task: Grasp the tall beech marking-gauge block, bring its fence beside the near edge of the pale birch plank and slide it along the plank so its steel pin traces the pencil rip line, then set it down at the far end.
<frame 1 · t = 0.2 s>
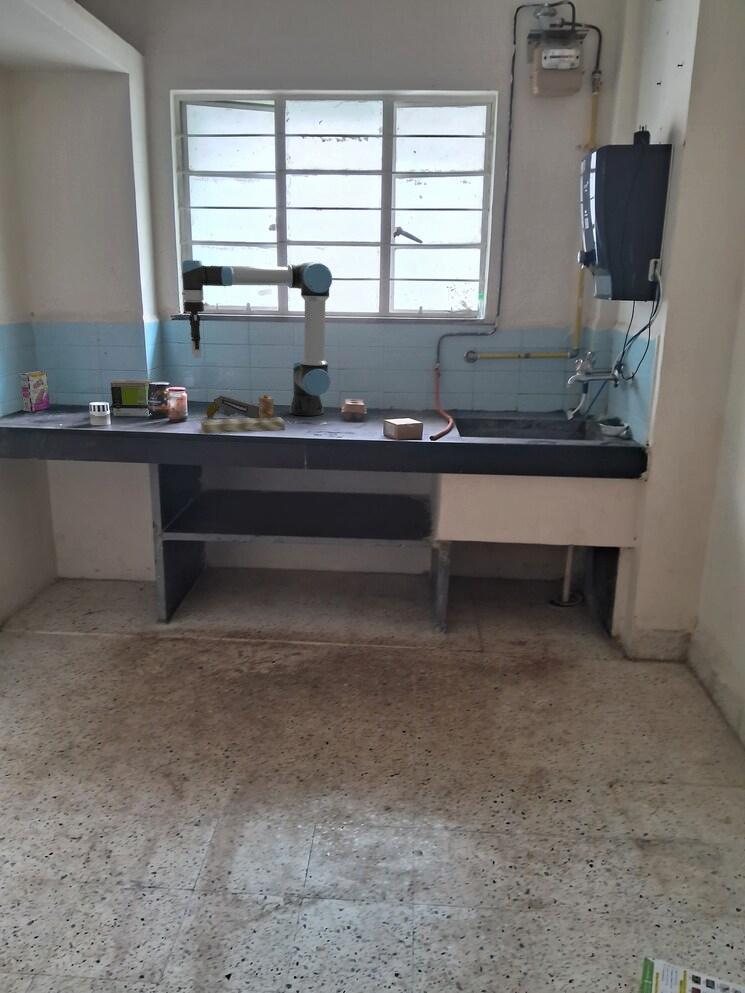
hand: (196, 355, 294), 28 cm above the worktop, fingers open, 13 cm apart
tea box: (134, 415, 316), on the worktop
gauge: (266, 424, 304), on the worktop
candy bar box: (37, 410, 321), on the worktop
gun: (237, 419, 313), on the worktop
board: (243, 429, 293), on the worktop
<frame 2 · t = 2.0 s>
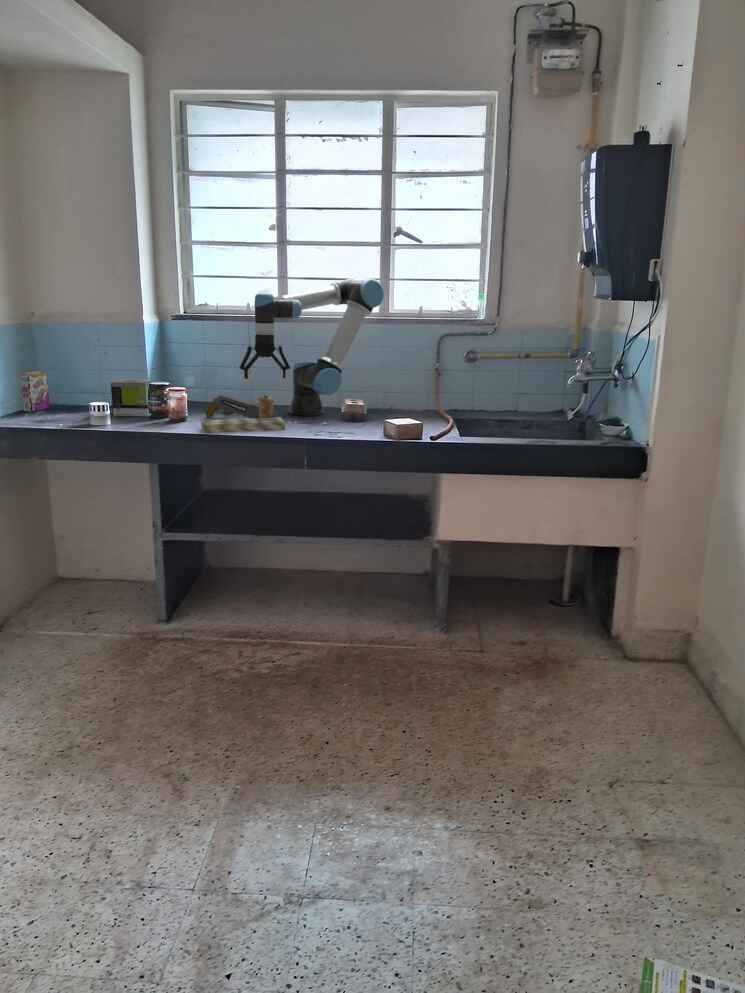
hand: (265, 386, 299), 16 cm above the worktop, fingers open, 13 cm apart
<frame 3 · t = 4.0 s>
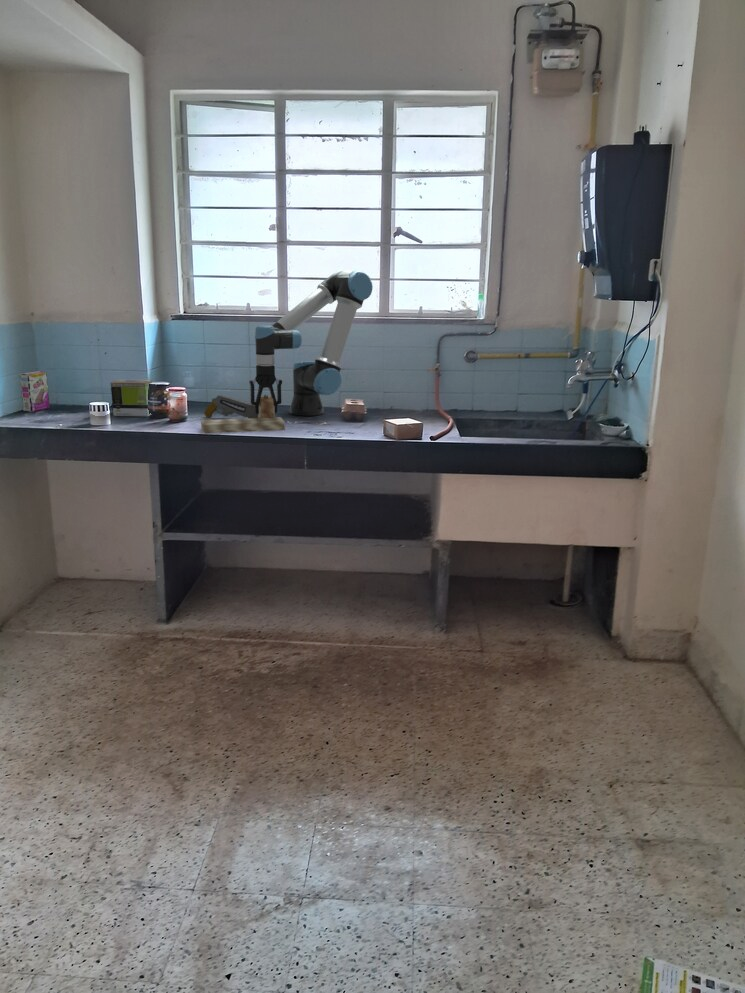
hand: (266, 421, 303), 1 cm above the worktop, fingers closed on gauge, 5 cm apart
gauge: (266, 424, 304), on the worktop, touching gripper
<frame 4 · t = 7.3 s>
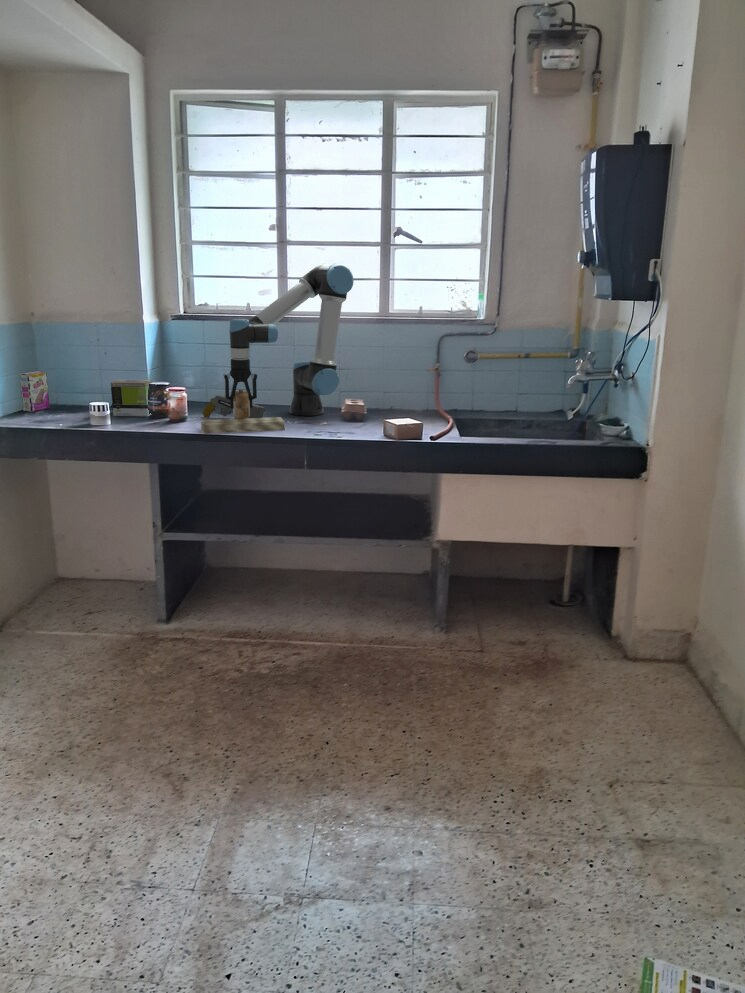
hand: (241, 415, 299), 4 cm above the worktop, fingers closed on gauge, 5 cm apart
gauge: (241, 419, 299), point 3 cm above the worktop, touching gripper
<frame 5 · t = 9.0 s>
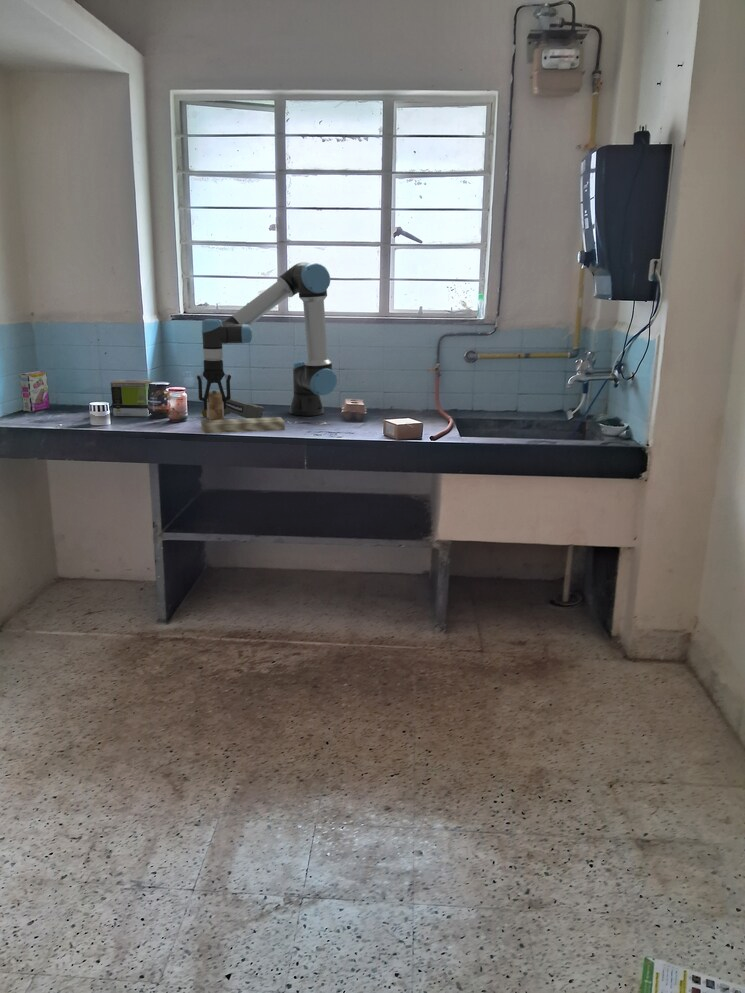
hand: (215, 417, 295), 4 cm above the worktop, fingers closed on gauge, 5 cm apart
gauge: (215, 420, 296), point 3 cm above the worktop, touching gripper
when the fingers open (1 cm above the worktop, at t = 10.6 s): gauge stays where it is, on the worktop.
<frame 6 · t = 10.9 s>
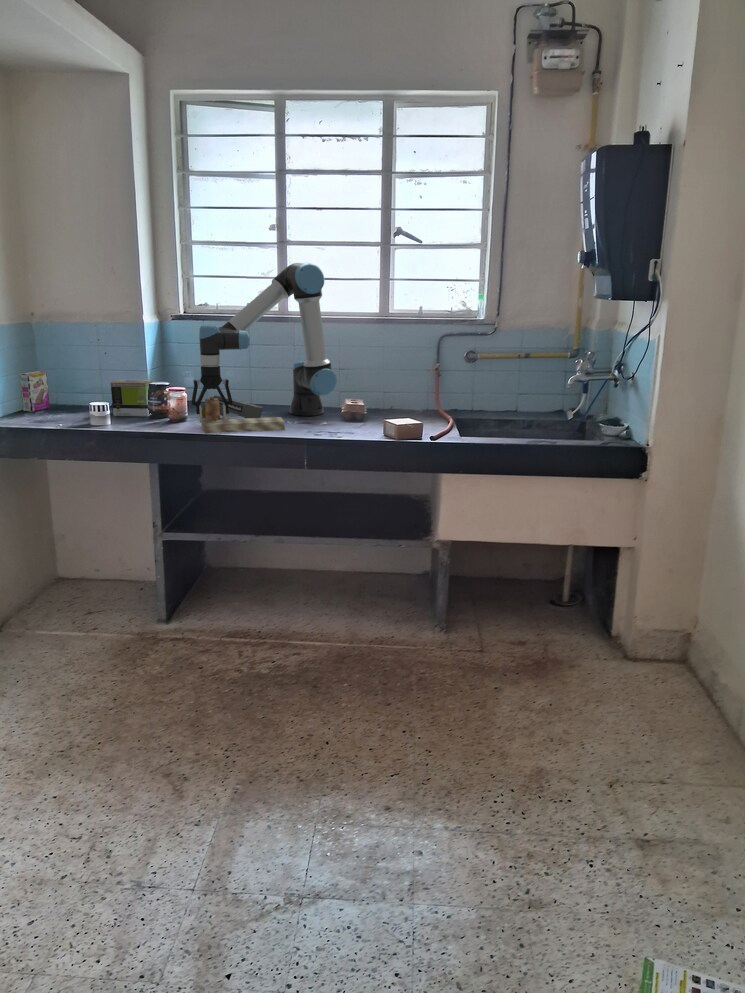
hand: (212, 421, 296), 2 cm above the worktop, fingers open, 9 cm apart
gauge: (213, 426, 296), on the worktop
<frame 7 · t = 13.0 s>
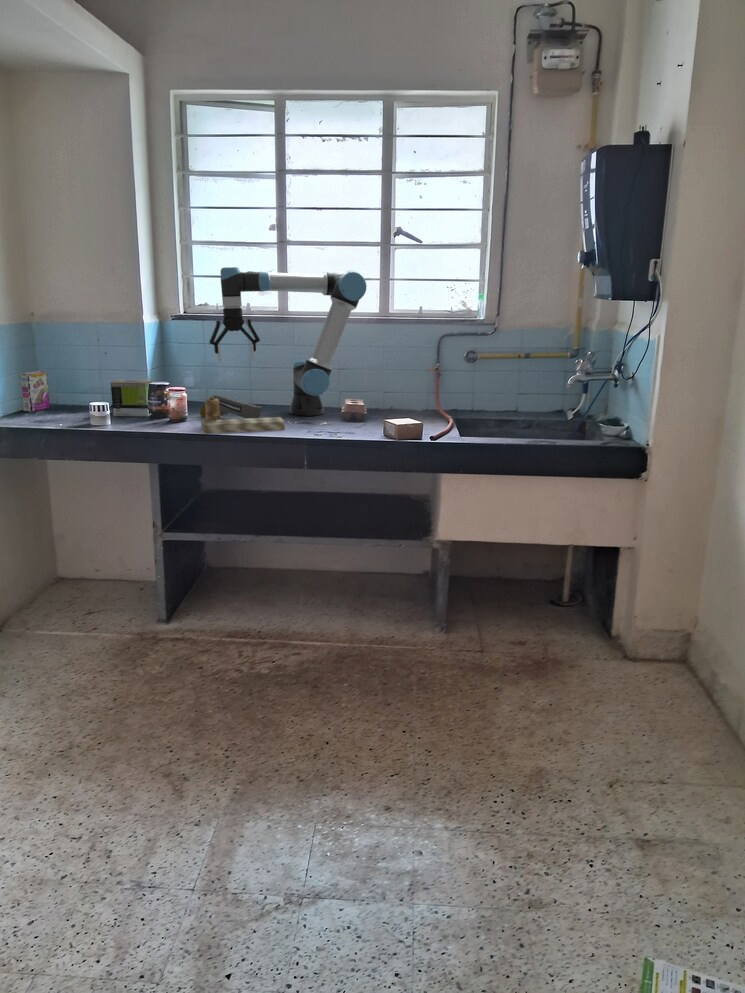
hand: (236, 360, 300), 25 cm above the worktop, fingers open, 13 cm apart
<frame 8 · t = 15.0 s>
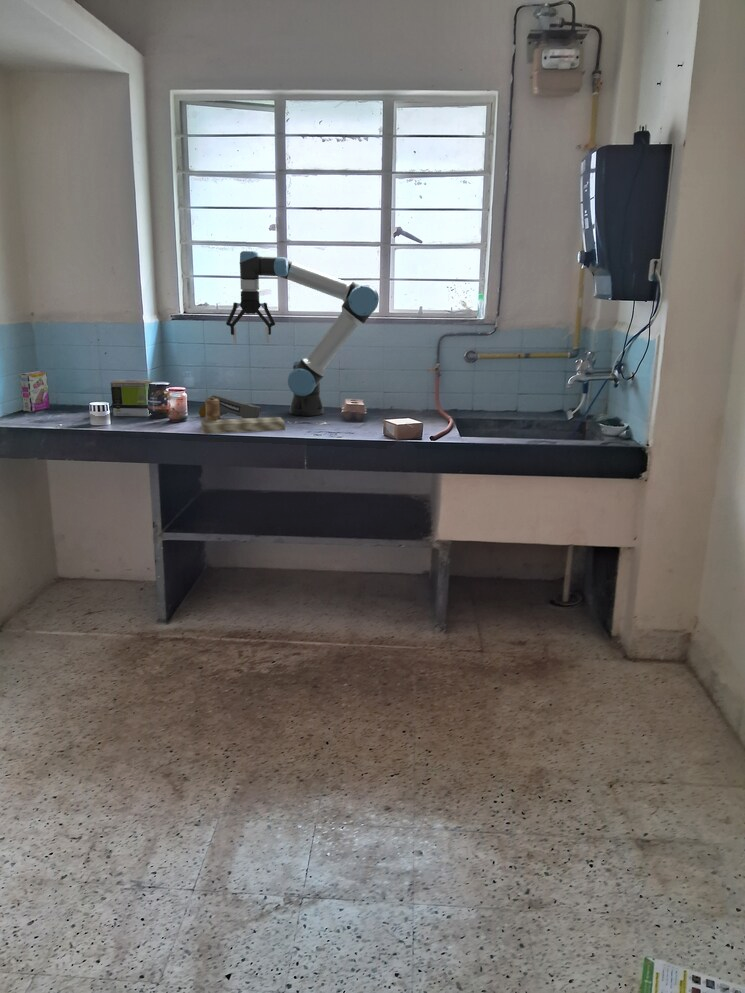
hand: (251, 342, 307), 32 cm above the worktop, fingers open, 13 cm apart
at the end: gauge inside the target area (0.1 cm from its centre), on the worktop; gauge tilted 0°; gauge moved 21.9 cm from its start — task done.
